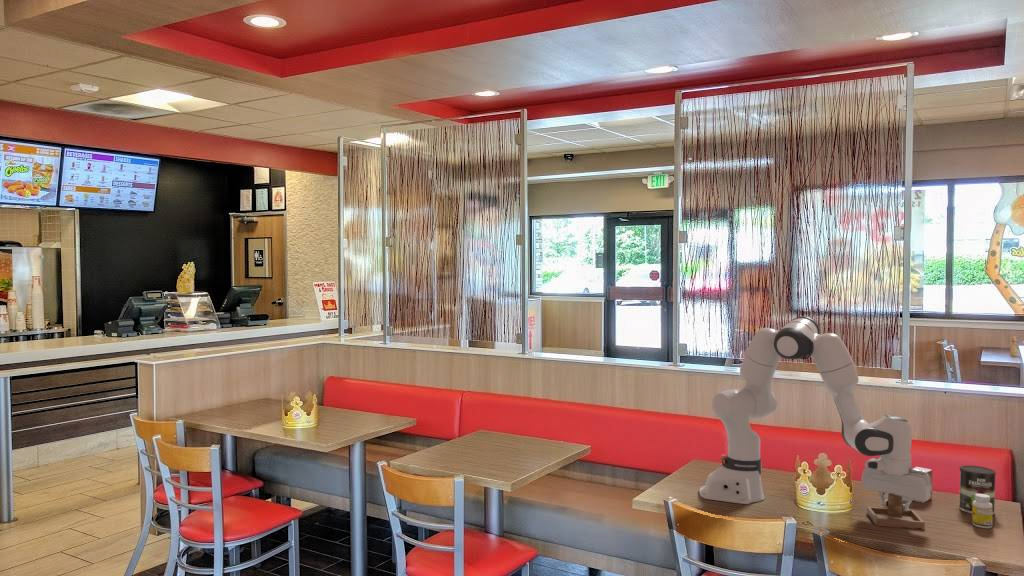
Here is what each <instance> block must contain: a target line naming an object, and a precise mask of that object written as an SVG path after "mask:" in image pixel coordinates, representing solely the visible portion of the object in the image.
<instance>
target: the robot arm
mask: <svg viewBox="0 0 1024 576" xmlns="http://www.w3.org/2000/svg"><path fill="white" fill-rule="evenodd" d="M820 329H821V328H820V326H819V324H818V323H817V321H816V320H815V319H813V318H812V317H809V316H798V317H794V318H793V319H790V321H788V322H787V323H786V324H785V325H783V326H782V327H781V329H779V330H778V329H774V328H771V327H762V328H760V329H758V330H757V331H756V333H755V334H754V336H753V337H752V339H751V341H750V343H749V345H748V347H747V349H746V352H745V354H744V357H743V360H742V363H741V366H740V369H739V372H740V376H741V378H742V379H743V380H744V382H745V383H744V385H743V387H742V388H734V389H726V390H723V391H720V392H718V393H715V394H714V396H713V398H712V400H711V408H712V411H713V414H714V416H716V417H717V418H718V419H719V420H720V421H721V422H722V425H723V426H724V429H725V431H726V435H727V437H726V438H727V455H726V454H723V453H722V454H721V455H720V457H719V458H720V460H721V466H719V467H718V468H716V469H715V470H713V471H712V472H710V473H709V474H708V476H707V478H706V480H705V485H702V486H700V487H699V491H698V492H699V496H700V497H701V498H702V499H705V500H712V501H720V502H727V503H734V504H740V505H741V504H742V505H743V504H744V505H750V504H752V503H757V502H761V501H763V500H764V499H765V494H764V492H763V486H762V480H761V475H762V469H763V468H762V466H763V465H762V463H763V462H762V458H761V438H760V436H759V434H758V433H757V432H756V431H754V430H753V429H752V427H751V425H750V419H759V418H760V419H761V418H765V417H766V416H769V415H772V414H773V413H774V412H775V411H776V410H777V405H778V400H777V398H776V395H775V393H774V391H772V381H773V378H774V376H775V375H774V374H775V372H776V370H777V368H778V364H779V361H780V359H781V358H783V359H787V360H807V359H810V358H811V359H812V360H813V361H814V363H815V366H816V368H817V371H818V373H819V375H820V377H821V379H822V381H823V383H824V385H825V387H826V388H827V389H828V391H829V393H830V395H831V396H832V398H833V401H834V403H835V406H836V409H837V411H838V415H839V416H840V420H841V436H842V437H841V438H842V439H843V440H842V441H844V443H845V444H846V445H847V446H849V447H850V448H853V449H854V450H856V451H857V452H858V453H860V454H861V455H863V456H867V457H873V458H870V459H868V460H866V461H864V467H865V468H864V469H863V470H862V473H861V486H862V487H863V489H865V490H866V489H867V490H872V491H875V492H878V493H877V494H878V496H879V499H880V500H881V506H884V507H888V499H887V498H886V497H885V494H887V493H888V494H893V495H897V496H902V497H906V501H907V503H906V504H902V510H904V511H908V510H910V509H909V508H910V505H911V503H912V501H913V499H915V500H920V501H926V502H928V501H929V500H928V499H930V497H931V492H930V483H931V477H930V476H929V474H927V473H926V472H925V471H919V470H915V469H913V468H912V455H911V448H912V428H911V423H910V422H909V421H908V420H907V419H905V418H903V417H900V416H897V415H892V414H885V415H883V416H882V417H881V418H879V419H878V420H875V421H873V422H870V423H869V422H868V421H867V420H866V419H865V418H864V417H863V416H862V414H861V411H860V409H859V406H858V403H857V401H856V398H855V395H854V390H855V388H856V387H857V385H858V383H859V375H858V370H857V366H856V363H855V362H854V359H853V357H852V356H851V353H850V351H849V349H848V348H847V346H846V345H845V343H844V342H843V340H842V338H841V337H840V336H839V335H837V334H836V333H834V332H833V333H831V332H828V333H822V334H821V332H820V331H821V330H820ZM877 456H880V457H877ZM927 500H928V501H927ZM930 500H931V499H930Z"/></svg>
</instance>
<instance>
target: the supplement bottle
mask: <svg viewBox="0 0 1024 576" xmlns="http://www.w3.org/2000/svg"><path fill="white" fill-rule="evenodd" d="M975 499H976V500H975V501H973V504H972V505H973V507H972V514H971V515H972V516H971V517H972V520H971V521H972V525H973V526H975V527H977V528H980V529H991V528H992V527H993V515H992V504H991V503H990V502H989V501H990V496H989V495H986V494H975Z"/></svg>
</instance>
